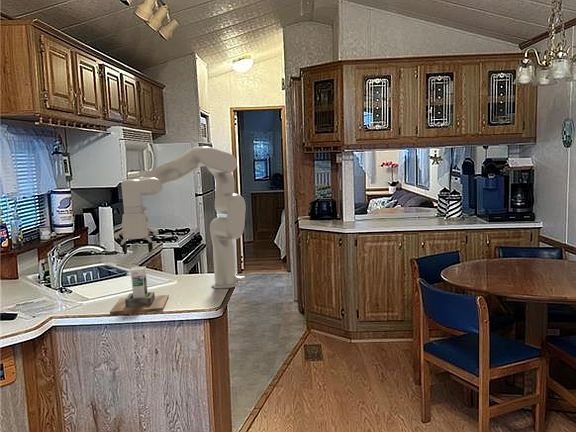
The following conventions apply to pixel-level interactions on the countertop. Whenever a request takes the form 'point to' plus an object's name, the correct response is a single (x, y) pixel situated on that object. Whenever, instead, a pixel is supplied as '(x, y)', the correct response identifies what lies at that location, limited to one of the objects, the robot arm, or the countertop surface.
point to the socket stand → (140, 304)
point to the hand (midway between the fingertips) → (138, 252)
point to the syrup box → (139, 282)
